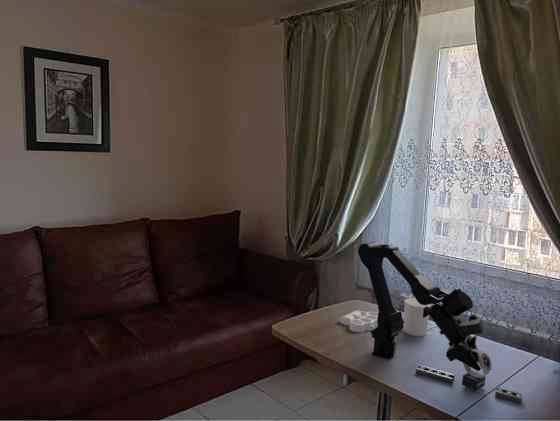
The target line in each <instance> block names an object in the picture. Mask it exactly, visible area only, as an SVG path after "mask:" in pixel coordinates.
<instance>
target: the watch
mask: <svg viewBox="0 0 560 421" xmlns="http://www.w3.org/2000/svg"><path fill="white" fill-rule="evenodd" d="M472 352H476V353H478V354H477V356H478V361H479V363H478V364H479V366H480V368H481V369H482V372H483V374H481V373H479V372H478V371H474V370H472V368H471V367H470V366H468V365H466V364H464V363H463V362H462V366H463V368H464V370H465V372H466V373H464V374H462V380H461V386H463V387H466V388H469V389H470V390H472V391H475V392H477V391H478V390H480V389H482V388H484V387H485V383H486V378H487V377H486V376H487V375H488V374H489V373H490V371H491V370H492V361H491V358H490V357H489V355H488V354H487V353H485V351H482V350H481V349H479V348H477V349H472Z"/></svg>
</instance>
